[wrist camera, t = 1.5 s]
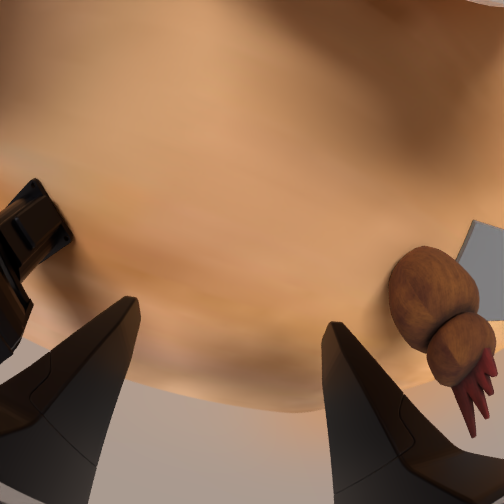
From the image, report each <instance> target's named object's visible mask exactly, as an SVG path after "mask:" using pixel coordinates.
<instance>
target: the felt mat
mask: <svg viewBox="0 0 504 504" xmlns="http://www.w3.org/2000/svg"><path fill="white" fill-rule="evenodd" d="M456 261H457V262H458V263H459V264H460V265H461V266H462V267H463V268H464V269H465V270H466V271H467V272H468V273H469V274H470V276H471V277H472V278H473V279H474V280H475V283H476V285H477V287H478V290H479V297H480V301H479V310H478V313H477V314H479V315H480V316H482V317H483V318H485V319H486V320H487V321H496V320H504V229H501V228H498V227H495V226H492V225H488V224H485V223H482V222H479V221H475V220H473V222H472V224H471V227H470V229H469V232H468V234H467V236H466V239H465V241H464V243H463V246H462V248H461V250H460V252H459V254H458V257H457V259H456Z"/></svg>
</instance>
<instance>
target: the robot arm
mask: <svg viewBox="0 0 504 504" xmlns="http://www.w3.org/2000/svg"><path fill="white" fill-rule="evenodd" d="M34 184H35V185H34ZM66 236H67V237H68V238H67V237H66ZM72 240H73V235H72V234H71V232H70V231H69V229H68V228H67V226H66V225H65V223H64V221H63V220H62V218H61V217H60V215H59V214H58V212H57V211H56V209H55V207H54V206H53V204H52V202H51V201H50V199H49V197H48V196H47V194H46V192H45V191H44V189H43V187H42V186H41V184H40V182H39V180H38V179H36V178H34V179H32V180H30V181H29V182H28V184H27V185H26V186H25V187H24V188H23V189H22V190H21V191H20V192H19V193H18V194H17V195H16V197H15V198H14V199H13V200H12V201H11V202H10V203H9V205H8V206H7V207H6V208H5V209H4V210H2V211H1V212H0V364H1V363H2V362H3V361H5V360H6V359H7V358H9V357H10V356H12V355H13V352H14V350H15V349H16V348H17V346H18V345H19V343H20V341H21V338H22V335H23V333H24V330H25V327H26V324H27V321H28V319H29V316H30V313H31V311H32V308H33V306H34V304H33V302H32V300H31V299H29V297H28V295H27V294H26V292H25V290H24V288H23V286H22V284H21V283H22V282H23V281H24V280H25V279H26V277H27V276H28V275H29V274H30V273H31V272H32V271H33V269H34V268H35V267H36V266H37V265H38V264H40V263H42V262H43V261H44V260H46V259H47V258H49V257H50V256H51V255H53V254H54V253H56V252H57V251H59V250H60V249H62V248H63V247H65V246H66V245H68V244H69V243H70V242H71V241H72ZM140 321H141V314H140V308H139V302H138V299H137V298H136V297H131V296H124V297H123V298H121V299H120V300H119V301H117V302H116V303H114V304H113V305H112V306H110V307H109V308H107V309H106V310H105V311H103V312H102V313H100V314H99V315H98V316H96V317H95V318H94V319H92V320H91V321H89V322H88V323H87V324H85V325H84V326H83V327H81V328H80V329H79V330H77V331H76V332H75V333H73V334H72V335H71V336H69V337H68V338H67V339H65V340H64V341H63V342H61V343H60V344H59V345H57V346H56V347H55V348H53V349H52V350H51V351H50V352H48V353H47V354H45V355H44V356H43V357H41V358H40V359H39V360H38V361H36V362H35V363H33V364H32V365H31V366H29V367H28V368H26V369H25V370H23V371H21V372H20V373H18V374H17V375H15V376H14V377H12V378H11V379H9V380H8V381H6V382H4V383H3V384H1V385H0V504H88V500H89V496H90V492H91V488H92V484H93V480H94V476H95V472H96V469H97V468H96V466H97V464H98V461H99V457H100V454H101V450H102V446H103V443H104V440H105V437H106V433H107V430H108V427H109V423H110V420H111V417H112V414H113V411H114V408H115V405H116V402H117V399H118V396H119V393H120V390H121V387H122V384H123V381H124V379H125V376H126V373H127V370H128V368H129V364H130V361H131V358H132V354H133V349H134V345H135V341H136V337H137V333H138V329H139V326H140ZM321 348H322V386H323V395H324V403H325V411H326V419H327V428H328V436H329V446H330V456H331V467H332V477H333V490H334V504H504V459H499V458H493V457H489V456H484V455H479V454H474V453H470V452H466V451H463V450H461V449H459V448H458V447H456V446H454V445H453V444H452V443H451V442H450V441H449V440H448V439H447V438H446V437H445V436H444V435H443V434H442V433H441V432H440V431H439V430H438V429H437V428H436V427H435V426H434V425H433V424H432V423H431V422H429V420H427V418H426V417H424V415H423V414H422V413H421V412H420V411H419V410H418V409H417V408H416V407H415V406H414V404H412V402H411V401H410V400H409V399H408V397H406V395H405V394H404V395H403V392H402V391H401V389H400V388H399V387H398V386H397V385H396V383H395V382H394V381H393V380H392V379H391V378H390V376H389V375H388V374H387V373H386V372H385V371H384V369H383V368H382V367H381V366H380V365H379V364H378V363H377V361H376V360H375V359H374V358H373V357H372V356H371V354H370V353H369V352H368V351H367V350H366V349H365V348H364V346H363V345H362V344H361V343H360V342H359V341H358V340H357V338H356V337H355V336H354V335H353V334H352V333H351V332H350V330H349V329H348V328H347V327H346V326H345V325H344V324H343V323H342V322H334V321H331V322H330V323H329V324H328V326H327V328H326V331H325V333H324V336H323V338H322V343H321Z"/></svg>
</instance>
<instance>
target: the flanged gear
mask: <svg viewBox="0 0 504 504" xmlns="http://www.w3.org/2000/svg"><path fill="white" fill-rule="evenodd" d="M467 1H471V2H474V3H478V4H483V5H488V6H495V7H504V0H467Z"/></svg>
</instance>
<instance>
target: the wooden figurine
mask: <svg viewBox="0 0 504 504" xmlns="http://www.w3.org/2000/svg"><path fill="white" fill-rule="evenodd" d="M479 301H480V297H479V290H478V287H477V285H476V283H475V280H474V279H473V278H472V277H471V276H470V274H469V273H468V272H467V271H466V270H465V269H464V268H463V267H462V266H461V265H460V264H459V263H458V262H457V261H455V260H454V259H453V258H452V257H450V256H449V255H448V254H446V253H444V252H443V251H441V250H439V249H436V248H432V247H428V246H422V247H418V248H415V249H413V250H412V251H410V252H409V253H408V254H406V255H405V256H404V257H403V258H402V259H401V260H400V261H399V262H398V264H397V265H396V267H395V268H394V270H393V272H392V274H391V277H390V280H389V305H390V310H391V315H392V317H393V320H394V322H395V325H396V326H397V328H398V330H399V332H400V334H401V335H402V336H403V338H404V339H405V341H406V342H407V343H408V344H409V345H410V346H411V347H412V348H414V349H416V350H418V351H420V352H423V353H425V354H426V353H427V362H428V365H429V367H430V369H431V372H432V374H433V376H434V378H435V379H436V380H437V381H438V382H439V383H440V384H441V385H444V386H448V387H451V388H452V390H453V393H454V395H455V398H456V400H457V403H458V405H459V407H460V410H461V412H462V415H463V417H464V420H465V422H466V425H467V427H468V430H469V433H470V435H471V438H474V437H475V436H476V425H475V415H474V407H473V402H474V403H475V405H476V406H477V407H478V409H479V411H480V412H481V414H482V415H483V417H484V418H485V419H488V418H489V411H488V407H487V403H486V399H485V395H484V391H485V392H486V393H487V394H488V395H489V396H490V395H493V394H494V390H493V386H492V383H491V380H490V376H491V377H495V376H497V374H498V372H497V368H496V364H495V361H494V358H493V356H494V352H495V347H496V338H495V334H494V331H493V329H492V327H491V325H490V324H489V323H488V321H487V320H486V319H485V318H483V317H482V316H480V315H479V314H477V313H478V310H479ZM483 390H484V391H483Z"/></svg>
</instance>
